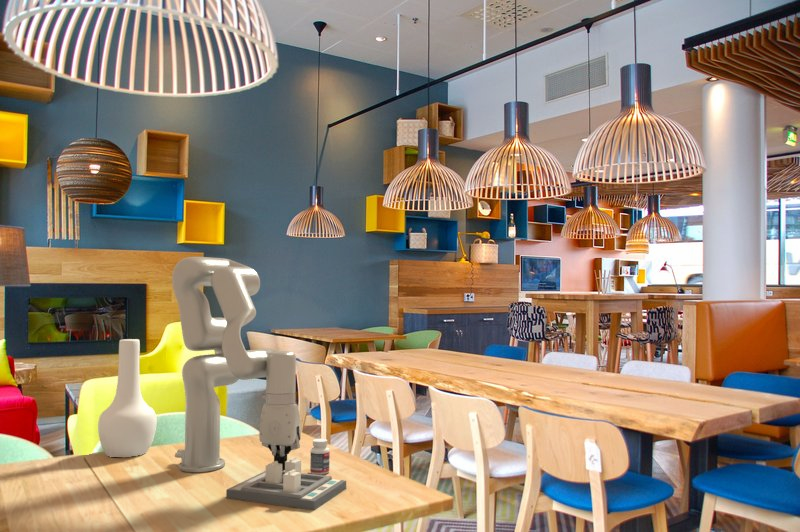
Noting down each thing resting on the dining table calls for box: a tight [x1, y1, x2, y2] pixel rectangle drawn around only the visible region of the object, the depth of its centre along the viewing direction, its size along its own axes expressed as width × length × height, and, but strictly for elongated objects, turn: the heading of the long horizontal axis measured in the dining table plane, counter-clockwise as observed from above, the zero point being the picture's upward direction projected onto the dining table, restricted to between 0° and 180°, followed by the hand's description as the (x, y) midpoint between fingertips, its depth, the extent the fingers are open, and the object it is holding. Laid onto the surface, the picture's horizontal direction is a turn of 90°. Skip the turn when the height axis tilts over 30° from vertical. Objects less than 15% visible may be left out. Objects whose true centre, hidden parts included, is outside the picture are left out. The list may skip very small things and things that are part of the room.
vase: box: [97, 338, 158, 458], centre depth 195 cm, size 17×17×35 cm
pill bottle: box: [309, 438, 331, 476], centre depth 175 cm, size 5×5×9 cm
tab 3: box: [283, 469, 302, 493], centre depth 151 cm, size 3×3×5 cm
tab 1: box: [265, 461, 282, 483], centre depth 158 cm, size 3×3×5 cm
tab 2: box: [284, 456, 302, 473], centre depth 162 cm, size 3×3×5 cm
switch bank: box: [225, 470, 347, 511], centre depth 157 cm, size 24×17×3 cm
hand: (280, 470), depth 163 cm, fingers closed
